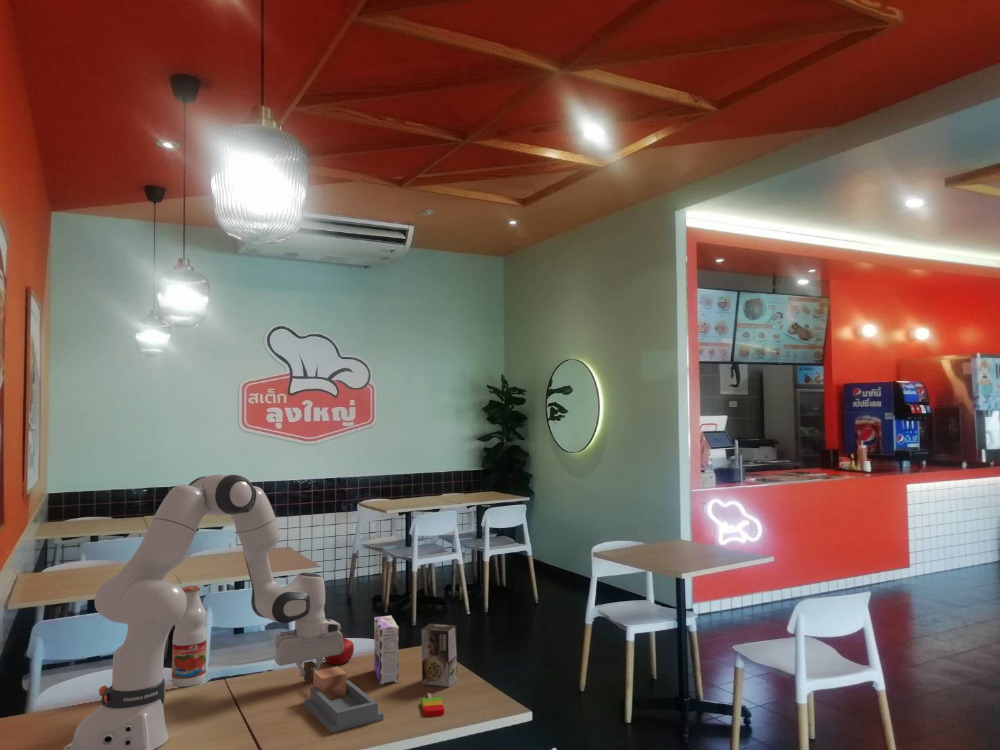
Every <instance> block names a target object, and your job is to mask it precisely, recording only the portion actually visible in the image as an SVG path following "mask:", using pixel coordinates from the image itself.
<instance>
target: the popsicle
mask: <svg viewBox="0 0 1000 750" xmlns="http://www.w3.org/2000/svg"><path fill="white" fill-rule="evenodd" d="M426 695H427V697H426V698H425V697H424V698H421V699H420V705H421V709H422V712H423V713H422V715H423V716H424V717H426V718H429V717H430V718H431V717H441V716H444V715H445V706H444V704H443V701H442V698H441V697H440V696H438V697H437V696H436V697H432V693H431V692H427V694H426Z"/></svg>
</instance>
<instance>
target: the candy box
mask: <svg viewBox="0 0 1000 750" xmlns="http://www.w3.org/2000/svg"><path fill="white" fill-rule="evenodd" d="M373 619H374V622H373V623H374V625H373V627H374V633H373V634H374V635H373V636H374V642H373V643H374V648H373V649H374V663H373V664H374V667H373V670H374V673H375V675H376V678H377V680H378V683H379V685H388V684H390V685H391V684H397V683H399V653H400V652H399V649H400V648H399V647H400V646H399V642H400V641H399V640H400V639H399V637H400V631H399V630H400V628H399V627H400V626H399V625H398V624H397V622H396V621H395V619H394V617H393V616H392V615H383V616H374V618H373Z"/></svg>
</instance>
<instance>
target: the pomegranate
mask: <svg viewBox="0 0 1000 750" xmlns="http://www.w3.org/2000/svg"><path fill="white" fill-rule="evenodd" d="M342 636H343V634H342ZM345 637H346V638H345ZM347 637H348V638H349V635H344V636H343V647H344V648H343V652H342V653H341V654H339V655H334V656H329V657H324V658H323V659H324V660H325V662H327V664H331V665H343V664H346V663H347V662H349V661H350V660H351V659H352V657H353V654H354V651H355V646H354V643H353V641H351V640H349V639H347Z"/></svg>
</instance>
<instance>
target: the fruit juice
mask: <svg viewBox="0 0 1000 750" xmlns="http://www.w3.org/2000/svg"><path fill="white" fill-rule="evenodd" d="M181 589H182V590H183V591H184V592H185V594H186V598H187V606H186V610H185V612H184V614H183V616H182V617H181V619H180V620H179V621H178V622H177V623H176V624H174V628H175V629H174V631H173V635H172V654H171V656H172V657H171V659H172V661H171V684H172V685H173V687H179V688H183V687H184V688H188V687H192V686H196V685H199V684H201V683H203V682H204V681H205V680H206V676H207V674H206V673H207V640H208V639H207V636H208V635H207V628H206V621H207V616H208V615H207V611H206V609H205V607H204V605H203V603H202V600H201V596H200V594H199V593H200V591H201V590H200V589H201V587H200V585H188V586H184V587H182V588H181Z"/></svg>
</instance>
